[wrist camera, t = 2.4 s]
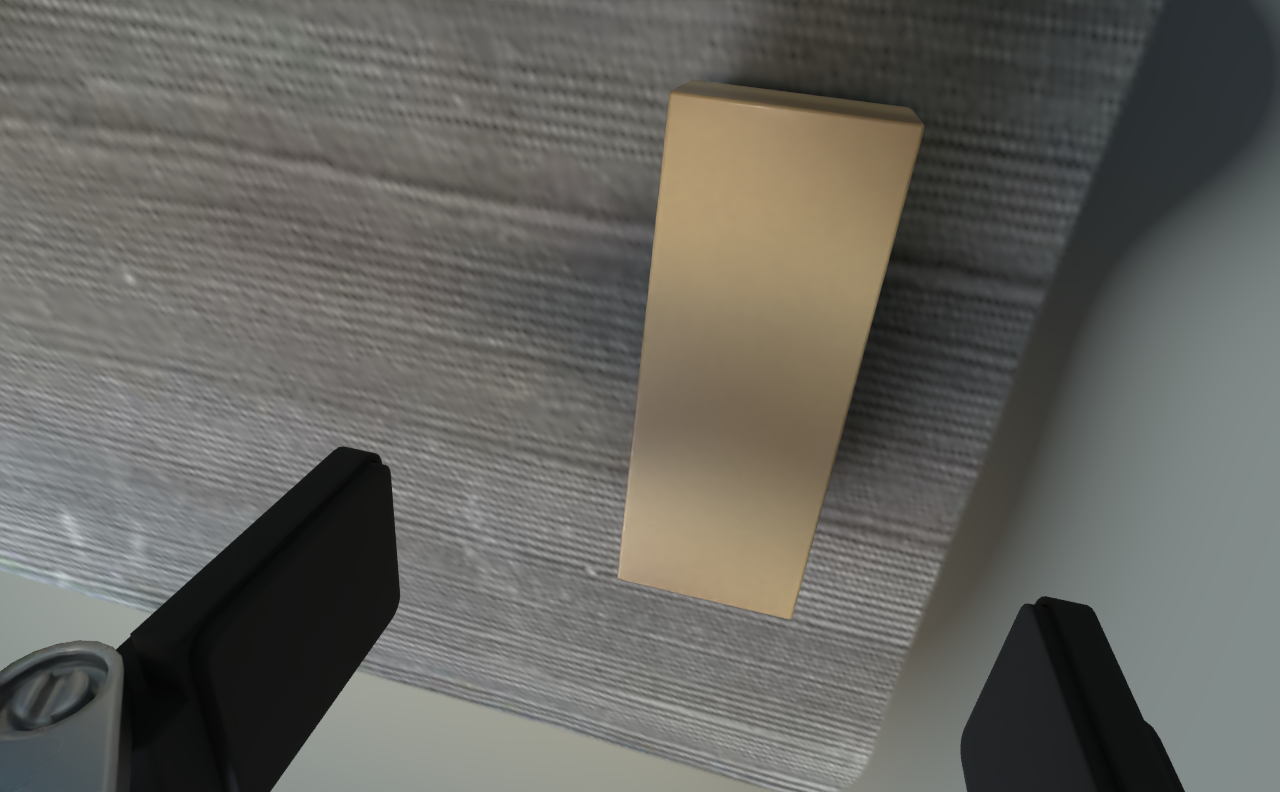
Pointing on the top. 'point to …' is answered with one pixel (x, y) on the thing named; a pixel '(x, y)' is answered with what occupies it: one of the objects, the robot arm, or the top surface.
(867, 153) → the tan block
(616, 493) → the top surface
